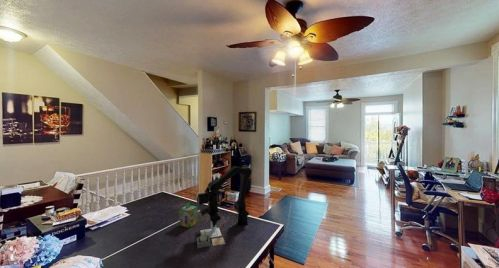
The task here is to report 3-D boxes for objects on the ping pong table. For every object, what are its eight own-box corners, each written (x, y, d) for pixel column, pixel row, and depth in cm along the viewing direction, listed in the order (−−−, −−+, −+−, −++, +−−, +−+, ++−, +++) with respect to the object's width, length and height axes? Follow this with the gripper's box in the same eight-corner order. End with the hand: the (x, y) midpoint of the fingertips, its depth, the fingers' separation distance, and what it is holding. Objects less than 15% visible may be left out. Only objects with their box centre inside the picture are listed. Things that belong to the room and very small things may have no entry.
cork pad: (223, 237, 123) (223, 237, 123) (225, 244, 117) (225, 243, 117) (211, 239, 121) (211, 239, 121) (213, 246, 114) (213, 245, 114)
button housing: (208, 239, 122) (208, 235, 122) (210, 245, 115) (210, 241, 115) (196, 241, 119) (196, 237, 119) (197, 248, 113) (197, 243, 113)
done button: (206, 239, 120) (206, 234, 120) (207, 242, 116) (207, 237, 116) (199, 240, 118) (199, 235, 118) (200, 244, 115) (200, 238, 115)
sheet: (219, 228, 135) (219, 227, 134) (221, 236, 125) (221, 235, 125) (200, 231, 131) (200, 230, 131) (201, 239, 121) (201, 238, 121)
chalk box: (189, 228, 135) (189, 206, 134) (179, 225, 138) (178, 204, 138) (198, 222, 143) (198, 201, 142) (188, 219, 147) (187, 199, 146)
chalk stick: (215, 226, 133) (215, 214, 133) (216, 229, 130) (216, 217, 129) (210, 227, 132) (210, 215, 132) (211, 230, 129) (210, 218, 128)
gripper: (199, 198, 137) (199, 220, 137) (201, 209, 119) (202, 234, 119) (216, 196, 140) (216, 218, 141) (220, 206, 122) (220, 231, 123)
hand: (213, 225), depth 131 cm, fingers closed on chalk stick, 4 cm apart
